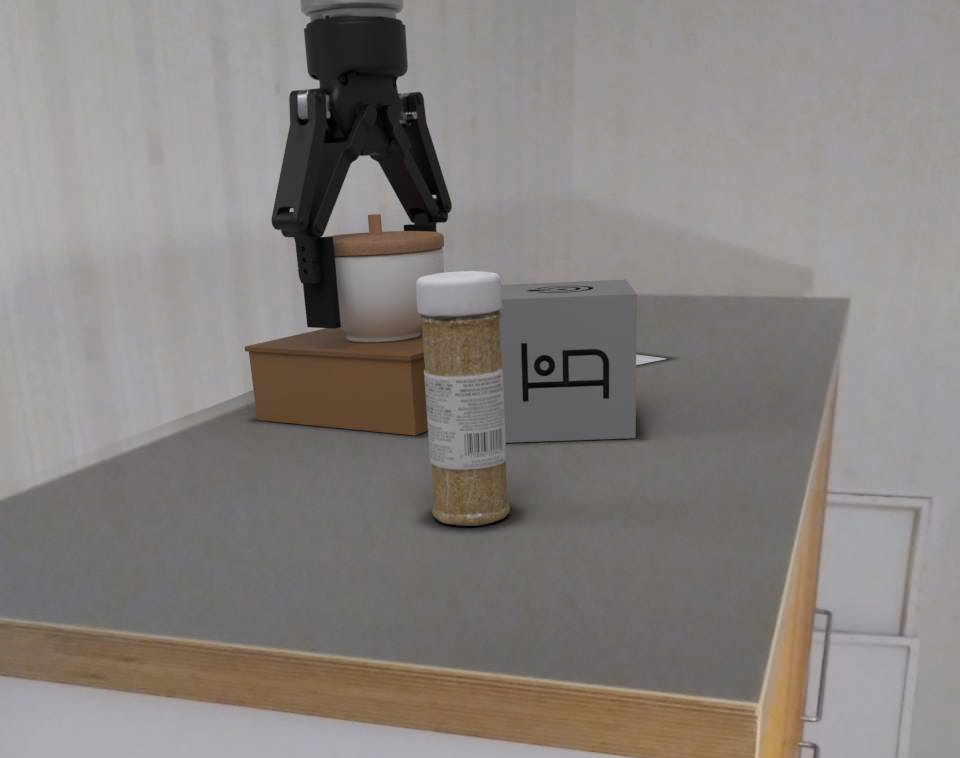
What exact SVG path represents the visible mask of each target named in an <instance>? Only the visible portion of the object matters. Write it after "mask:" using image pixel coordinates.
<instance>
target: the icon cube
mask: <svg viewBox="0 0 960 758" xmlns="http://www.w3.org/2000/svg"><path fill="white" fill-rule="evenodd" d="M501 290H502V308H501V309H500V310H499V311H500V313H501V317H500V321H499V327H500V341H501V359H502V370H503V386H504V411H505V440H506V443H507V444H508V443H533V442H534V443H535V442H536V443H539V442H564V441H565V442H566V441H591V440H592V441H594V440H597V441H598V440H619V439H620V440H621V439H622V440H623V439H624V440H625V439H636V434H637V433H636V432H637V431H636V429H637V428H636V427H637V425H636V424H637V421H636V419H637V365H636V355H637V324H638V323H637V322H638V321H637V317H638V311H637V309H638V307H637V306H638V294H637V292H636V291H635V289H634V288H633V287H632V285H631V284H630V283H629V282H628V280H627V279H609V280H608V279H603V280H582V281H581V280H580V281H559V282H557V281H556V282H538V283H537V282H536V283H535V282H533V283H512V284H511V283H510V284H501Z"/></svg>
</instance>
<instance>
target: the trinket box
mask: <svg viewBox="0 0 960 758" xmlns="http://www.w3.org/2000/svg"><path fill="white" fill-rule="evenodd" d="M367 222H368V223H367V225H368V232H357V233H356V232H355V233H344V234H343V233H342V234H335V235H334V234H333V235H328V236H326V237H333V244H334V255H335V266H336V277H337V288H338V299H339V310H340V321H341V327H340V328H338V329H339V330H340V331H342V332H343V333H344V334H345V335H346V339H347V340H348V341H353V342H390V341H400V340H407V339H412V338H416V337H419V336H420V335H421V330H422V323H421V321H420V316H421V314H419V313H418V311H417V296H416V281H417V280H418V279H419V278H420V277H423V276H427V275H432V274H437V273H445V268H444V267H445V264H444V260H445V259H444V247H445V236H444V234H443V233H442V232H440V231H437V232H430V231H404V230H391V231H389V230H388V231H383V225H382V214H381V213H371V214H367Z"/></svg>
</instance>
